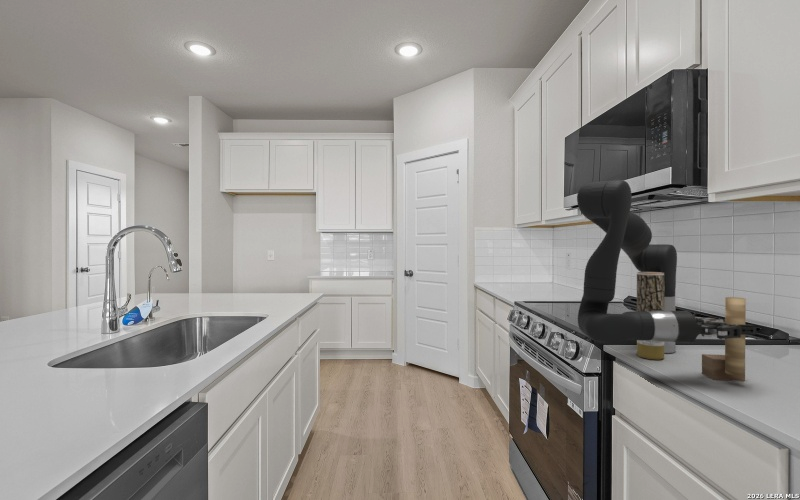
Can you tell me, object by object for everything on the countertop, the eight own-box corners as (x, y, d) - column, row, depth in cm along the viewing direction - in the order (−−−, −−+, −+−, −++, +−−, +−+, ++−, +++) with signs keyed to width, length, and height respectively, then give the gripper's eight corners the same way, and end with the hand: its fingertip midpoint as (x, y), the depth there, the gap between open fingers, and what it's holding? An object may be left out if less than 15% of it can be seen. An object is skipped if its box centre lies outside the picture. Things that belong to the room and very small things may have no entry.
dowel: (721, 370, 93) (721, 297, 92) (738, 371, 92) (738, 297, 92) (731, 375, 89) (732, 299, 89) (749, 376, 89) (749, 299, 88)
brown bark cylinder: (668, 361, 109) (668, 273, 108) (642, 359, 110) (642, 273, 110) (657, 354, 115) (657, 271, 115) (633, 353, 117) (632, 271, 116)
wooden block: (712, 379, 94) (712, 359, 94) (701, 373, 98) (701, 354, 98) (745, 380, 93) (745, 360, 93) (732, 374, 97) (732, 355, 97)
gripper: (685, 316, 86) (772, 317, 83) (654, 306, 100) (728, 306, 97) (685, 349, 86) (772, 352, 83) (654, 334, 100) (728, 336, 97)
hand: (748, 327), depth 90 cm, fingers closed on dowel, 3 cm apart
